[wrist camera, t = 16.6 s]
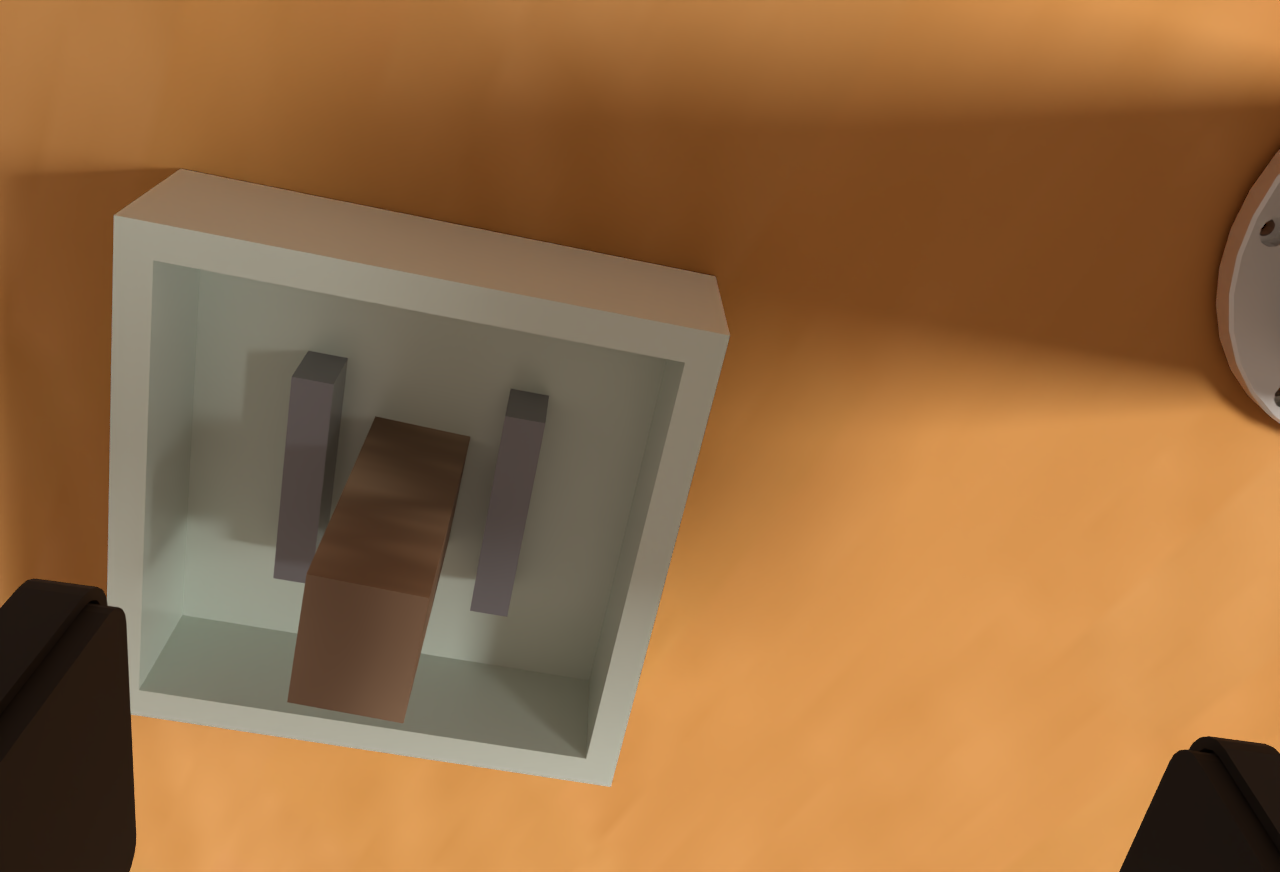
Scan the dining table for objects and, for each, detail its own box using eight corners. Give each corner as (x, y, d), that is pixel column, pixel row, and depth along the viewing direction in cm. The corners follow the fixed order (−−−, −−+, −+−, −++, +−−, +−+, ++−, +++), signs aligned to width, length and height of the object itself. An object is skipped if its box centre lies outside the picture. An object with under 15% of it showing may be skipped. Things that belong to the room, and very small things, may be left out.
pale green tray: (715, 276, 36) (730, 335, 31) (611, 689, 42) (610, 786, 38) (180, 168, 34) (113, 215, 29) (161, 617, 41) (104, 710, 36)
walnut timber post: (470, 436, 37) (429, 598, 29) (448, 542, 38) (403, 723, 30) (375, 416, 36) (306, 573, 28) (357, 524, 38) (287, 702, 30)
